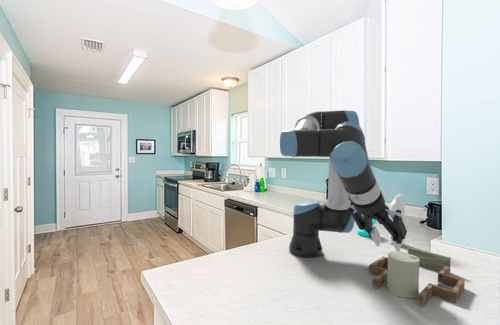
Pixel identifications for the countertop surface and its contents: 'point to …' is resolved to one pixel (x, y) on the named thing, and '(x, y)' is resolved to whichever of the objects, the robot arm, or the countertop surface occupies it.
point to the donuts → (363, 232)
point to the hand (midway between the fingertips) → (388, 244)
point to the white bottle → (397, 205)
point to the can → (403, 274)
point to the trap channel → (444, 289)
